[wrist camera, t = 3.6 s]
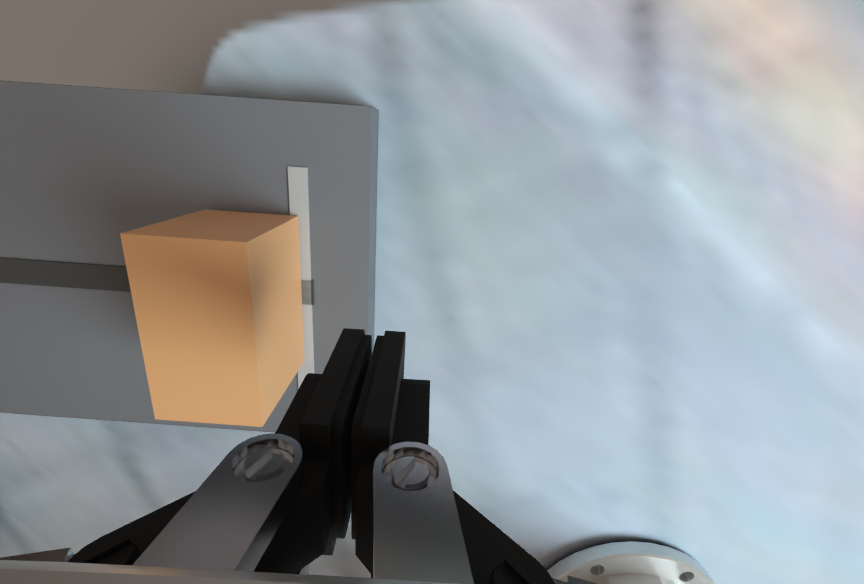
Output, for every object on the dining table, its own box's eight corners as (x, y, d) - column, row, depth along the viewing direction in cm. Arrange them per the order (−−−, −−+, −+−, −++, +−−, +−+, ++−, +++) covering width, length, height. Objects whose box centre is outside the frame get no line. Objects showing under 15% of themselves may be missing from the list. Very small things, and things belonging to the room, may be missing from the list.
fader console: (378, 110, 18) (370, 106, 16) (372, 415, 24) (365, 440, 22) (-299, 62, 19) (-388, 53, 17) (-152, 377, 24) (-206, 398, 22)
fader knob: (298, 216, 18) (246, 242, 13) (304, 360, 20) (262, 427, 16) (205, 209, 18) (120, 233, 13) (222, 354, 20) (155, 419, 16)
